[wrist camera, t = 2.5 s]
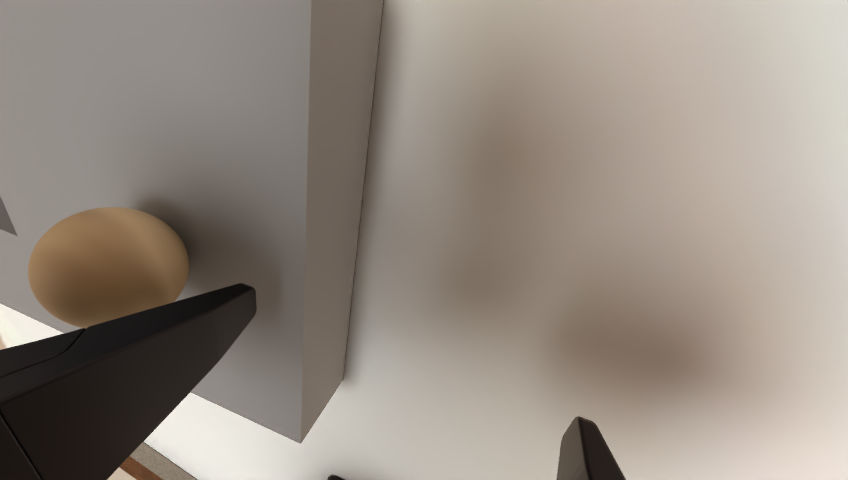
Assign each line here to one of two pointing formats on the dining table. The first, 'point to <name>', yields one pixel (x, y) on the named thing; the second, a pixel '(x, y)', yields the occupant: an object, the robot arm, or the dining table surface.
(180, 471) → the grey striped pillar
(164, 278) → the ball
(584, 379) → the dining table surface
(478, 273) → the dining table surface
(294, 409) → the grey flat block
